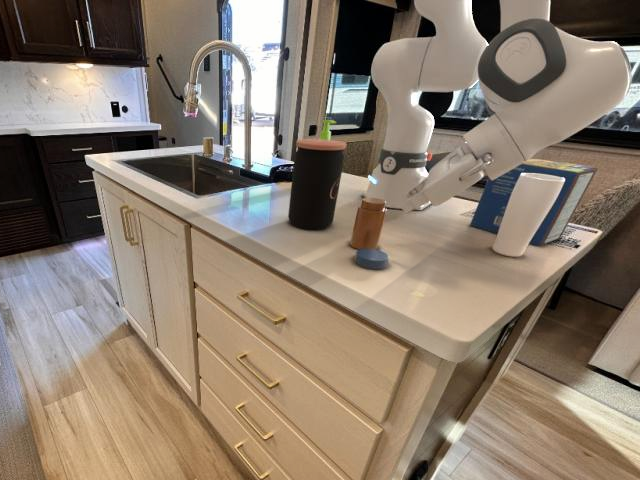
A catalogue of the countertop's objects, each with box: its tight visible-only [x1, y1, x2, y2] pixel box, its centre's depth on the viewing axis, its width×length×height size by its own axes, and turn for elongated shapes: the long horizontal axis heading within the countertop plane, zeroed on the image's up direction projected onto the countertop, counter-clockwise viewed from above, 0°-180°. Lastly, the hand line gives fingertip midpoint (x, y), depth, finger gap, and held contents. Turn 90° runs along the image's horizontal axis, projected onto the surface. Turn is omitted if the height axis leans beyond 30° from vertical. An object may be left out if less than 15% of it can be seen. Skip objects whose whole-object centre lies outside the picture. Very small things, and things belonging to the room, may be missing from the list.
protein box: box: [469, 157, 599, 247], centre depth 76 cm, size 10×15×16 cm
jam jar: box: [349, 197, 387, 250], centre depth 68 cm, size 5×5×9 cm
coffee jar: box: [287, 138, 348, 231], centre depth 77 cm, size 11×11×18 cm
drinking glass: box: [491, 173, 565, 258], centre depth 65 cm, size 7×7×15 cm
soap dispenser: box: [319, 119, 337, 140], centre depth 113 cm, size 6×7×20 cm
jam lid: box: [354, 248, 390, 270], centre depth 63 cm, size 6×6×2 cm
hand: (405, 202), depth 63 cm, fingers open, 8 cm apart
